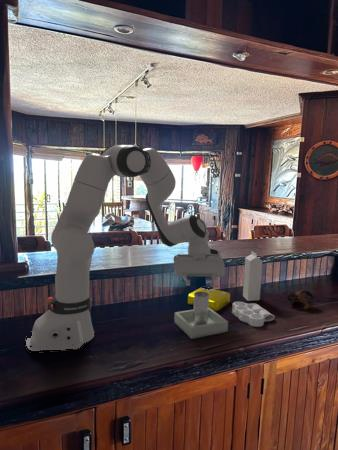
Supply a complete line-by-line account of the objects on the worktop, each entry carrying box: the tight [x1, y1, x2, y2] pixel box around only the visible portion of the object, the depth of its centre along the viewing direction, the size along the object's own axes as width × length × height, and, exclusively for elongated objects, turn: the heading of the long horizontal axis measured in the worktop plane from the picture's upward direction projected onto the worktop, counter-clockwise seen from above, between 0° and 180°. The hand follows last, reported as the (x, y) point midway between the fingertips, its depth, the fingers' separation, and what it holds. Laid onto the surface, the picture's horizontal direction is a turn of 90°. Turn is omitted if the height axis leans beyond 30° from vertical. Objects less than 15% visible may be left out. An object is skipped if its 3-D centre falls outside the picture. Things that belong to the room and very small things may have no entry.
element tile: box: [187, 286, 231, 312], centre depth 150 cm, size 15×15×5 cm
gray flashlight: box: [192, 291, 209, 326], centre depth 124 cm, size 6×6×13 cm
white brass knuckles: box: [231, 301, 276, 328], centre depth 136 cm, size 3×18×15 cm
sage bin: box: [174, 307, 229, 340], centre depth 125 cm, size 15×14×4 cm
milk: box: [242, 250, 263, 302], centre depth 155 cm, size 6×6×22 cm
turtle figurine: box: [285, 289, 316, 311], centre depth 148 cm, size 12×10×8 cm
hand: (200, 285), depth 129 cm, fingers open, 8 cm apart
